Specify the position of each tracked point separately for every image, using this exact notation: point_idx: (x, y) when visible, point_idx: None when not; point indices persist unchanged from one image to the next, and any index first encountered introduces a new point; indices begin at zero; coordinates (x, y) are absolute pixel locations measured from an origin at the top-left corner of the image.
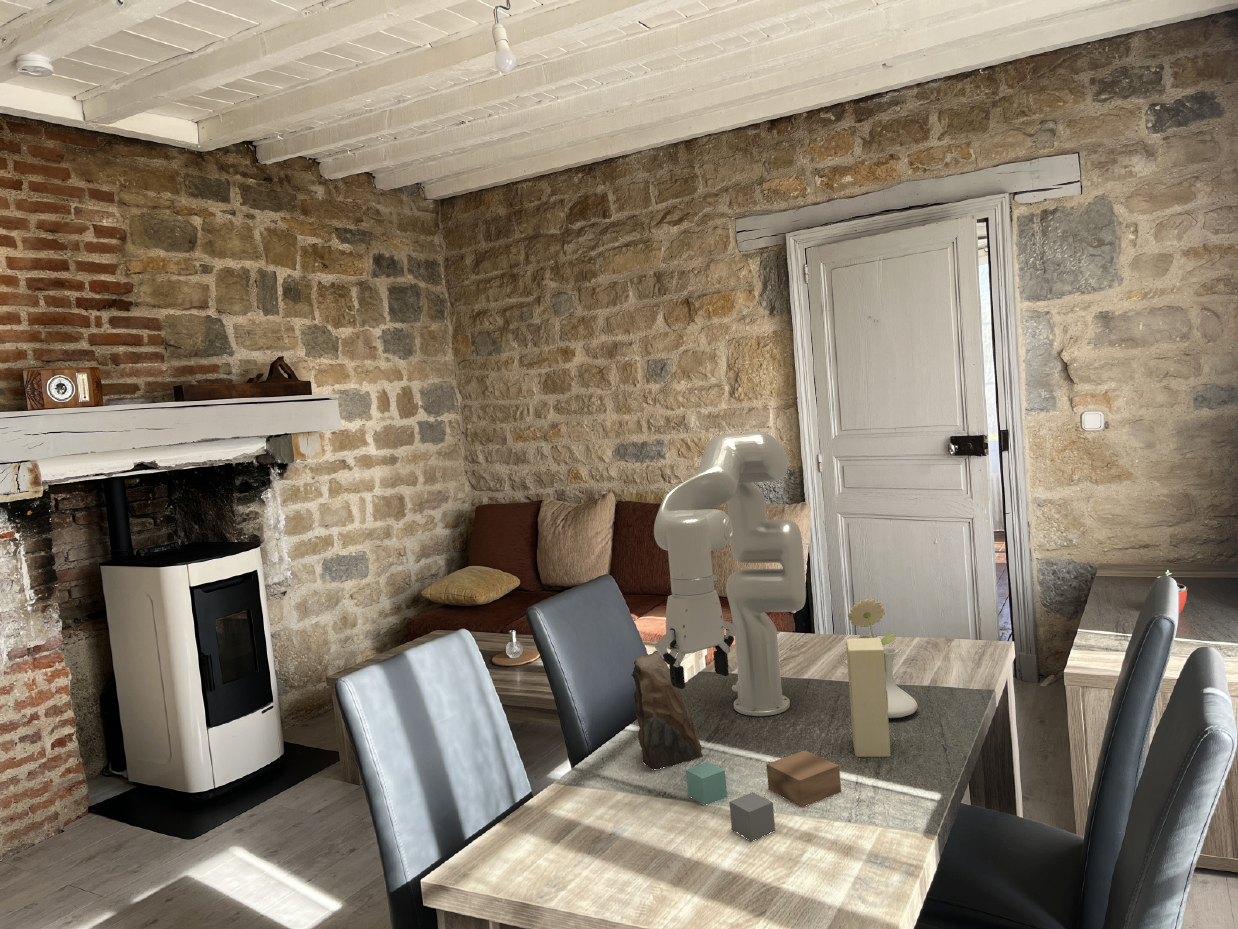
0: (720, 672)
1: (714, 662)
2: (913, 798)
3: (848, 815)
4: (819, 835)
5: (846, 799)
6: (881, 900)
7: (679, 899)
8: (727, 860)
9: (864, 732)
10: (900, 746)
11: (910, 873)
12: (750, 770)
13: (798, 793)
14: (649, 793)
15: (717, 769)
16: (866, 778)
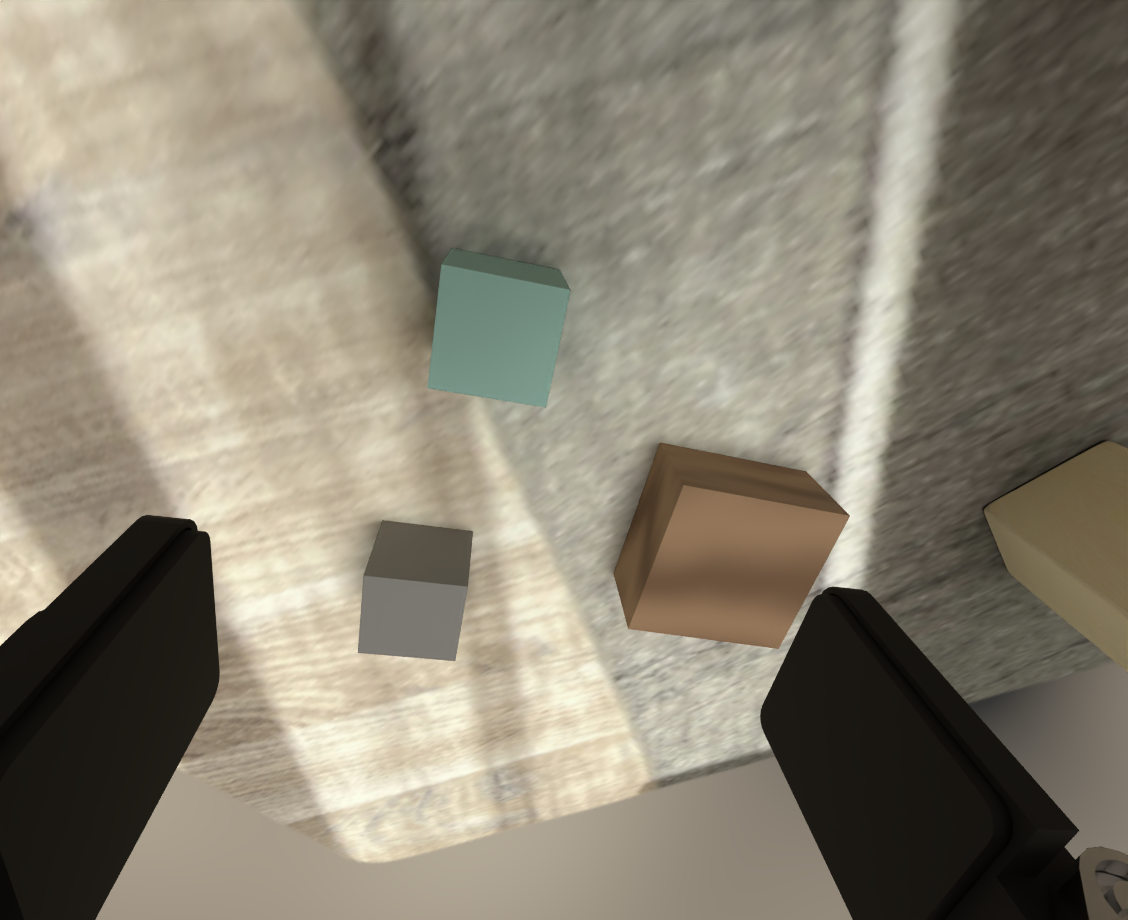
0: (791, 680)
1: (892, 682)
2: None
3: (640, 664)
4: (516, 672)
5: None
6: (396, 837)
7: None
8: (263, 603)
9: (1054, 578)
10: None
11: (505, 826)
12: (762, 298)
13: (623, 590)
14: (354, 71)
15: (531, 380)
16: None
